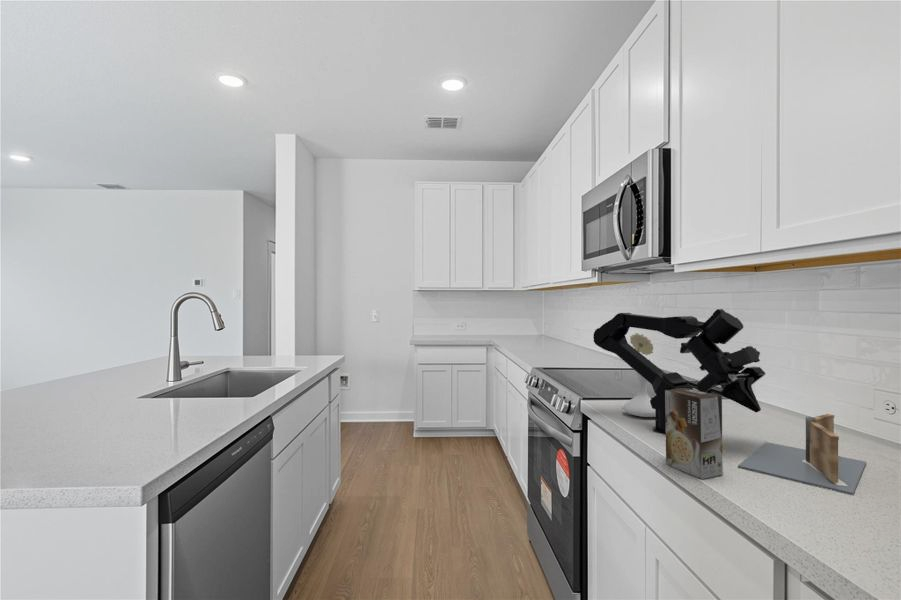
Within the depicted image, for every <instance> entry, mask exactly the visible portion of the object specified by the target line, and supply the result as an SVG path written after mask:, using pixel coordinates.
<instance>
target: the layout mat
mask: <svg viewBox="0 0 901 600" xmlns="http://www.w3.org/2000/svg"><path fill="white" fill-rule="evenodd" d="M866 464H867V461H866V460H861V459H855V458H851V457H850V458H849V457H845V456H839V455H838V482H832V481H831V480H829V479H828V478H827V477H826V476H825V475H824V474H823V473H821V472H820V471H819V470H818V469H817V468H816V467H815V466H814V465H812V464H811V463H808V462H806V448H805V449H804V448H799V447H795V446H794V447H793V446H789V445H783V444H779V443H773V442H767V441H765V442H764V443H763V444H761V445H760V446H759V447H758V448H757V449H756V450H754V451H753V452H752V453H751V454H750V455H748V457H746V458H745V459H744V460H743V461H742V462H740V463H739V464H738V465H737V468H739V469H742V470H748V471H751V472H755V473H759V474H763V475H768V476H771V475H772V476H773V477H775V478H779V479H780V478H781V479H785V480H787V481H792V480H793V482H796V481H797V482H796V483H800V482H801V484H805V485H809V486H813V485H814V487H817V486H819V488H821V487H823V488H822V489H825V488H827V489H826V490H830V489H832V490H831V491H834V490H836V491H835V492H838V491H840V492H839V493H842V492H844V493H843V494H846V493H847V494H848V495H852V496H854V494H855V492H856V489H857V487H858V484H859V482H860V479H861V478H862V477H861V476H862V475H863V472H864V470H865V467H866ZM772 476H771V477H772Z"/></svg>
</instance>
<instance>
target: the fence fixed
mask: <svg viewBox="0 0 901 600" xmlns="http://www.w3.org/2000/svg"><path fill="white" fill-rule="evenodd" d="M834 419H835V415H834V414H829V413H825V414H822V415H817V416H805V450H806V462H808V463H810V425H809V422H817V423H818V424H820V425H821V426H823V427H824V428H826V429H828V430H829V431H831V432H832V433H834V434H835V432H834V431H835V426H834V425H835V424H834V423H835V422H834V421H835V420H834Z"/></svg>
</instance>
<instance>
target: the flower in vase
mask: <svg viewBox="0 0 901 600" xmlns="http://www.w3.org/2000/svg"><path fill="white" fill-rule="evenodd" d="M629 340H630V341H629V342H630V343H629V344H631V346H632V347H633V348H634V349H636V350H637V351H638V352H639V353H641V354H642V355H645V356H648V355H651V354H653V353H654V346H653V343H652V340H651V339H648V337H647V336H645V335H644V334H643V333H641V334H639V333H638V332H635V333H634V334H631V335H630V336H629ZM648 360H649V361H651V359H648ZM633 371H634V372H635V374H636V376H637V382H638V391H637V394H636V395H635V396H634V397H632V398H631V399H629V400H628V401H626V402H625V403H624V405H623V406H622V410H623V411H624V412H625V413H626V414H629V415H632V416H635V417H642V418H655V409H653V408H652V406H651V403H650V400H651V399H652V398H651V397H650V395H649V394H648V391H647V384H648V381H647V380H646V379H645V378H643V377H642V376H641V375H640V374H639V373H638V372H636V371H635V370H634V369H633Z"/></svg>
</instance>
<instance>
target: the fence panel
mask: <svg viewBox="0 0 901 600" xmlns="http://www.w3.org/2000/svg"><path fill="white" fill-rule="evenodd" d="M809 425H810V463H811V464H812V465H814V466H815V467H816V468H817V469H818V470H819V471H820V472H821V473H823V474H824V475H825V476H826V477H827V478H828V479H829V480H831V481H832V482H838V456H839V440H840V436H838V435H837V434H835V432H834V433H832V432H831V431H829V430H828V429H826V428H824V427H823V426H821V425H820V424H818V423H817V422H809Z"/></svg>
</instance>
